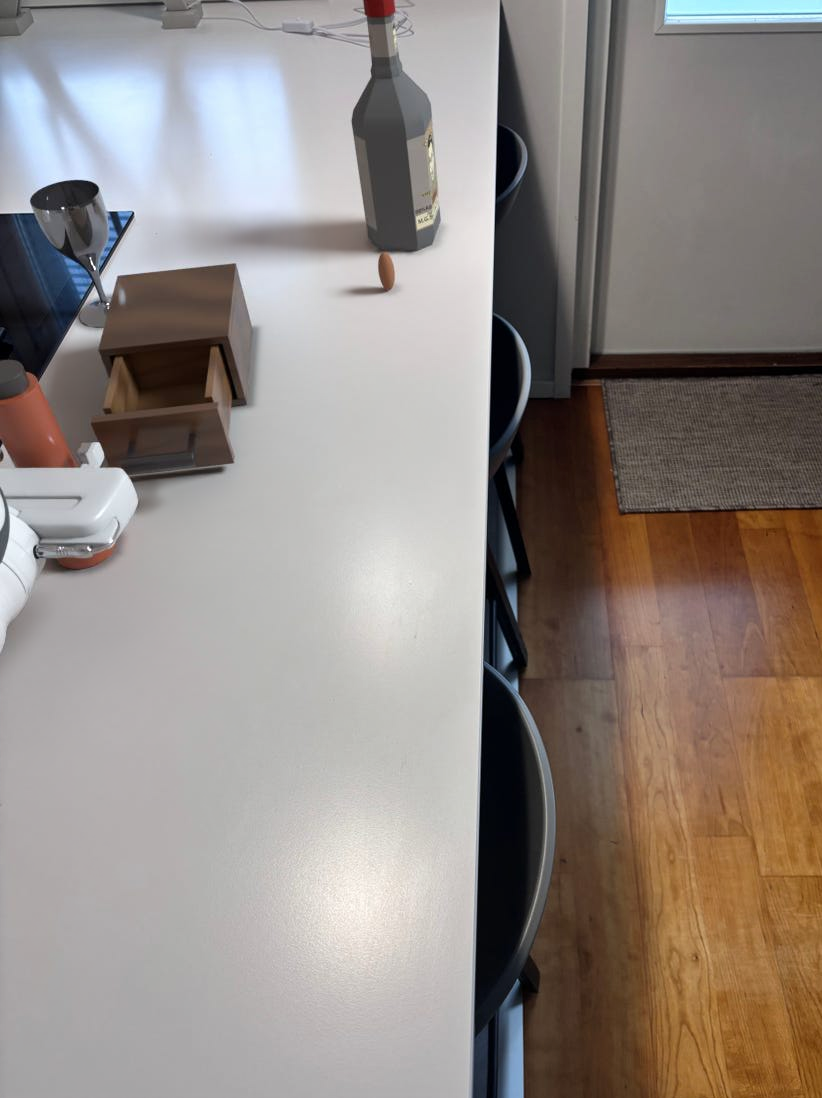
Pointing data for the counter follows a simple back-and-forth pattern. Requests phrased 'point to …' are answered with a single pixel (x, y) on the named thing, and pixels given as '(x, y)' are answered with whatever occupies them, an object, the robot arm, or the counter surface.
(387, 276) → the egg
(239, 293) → the cabinet
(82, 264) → the wine glass
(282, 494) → the counter surface
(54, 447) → the pepper mill
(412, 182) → the liquor
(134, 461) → the drawer
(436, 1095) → the counter surface
